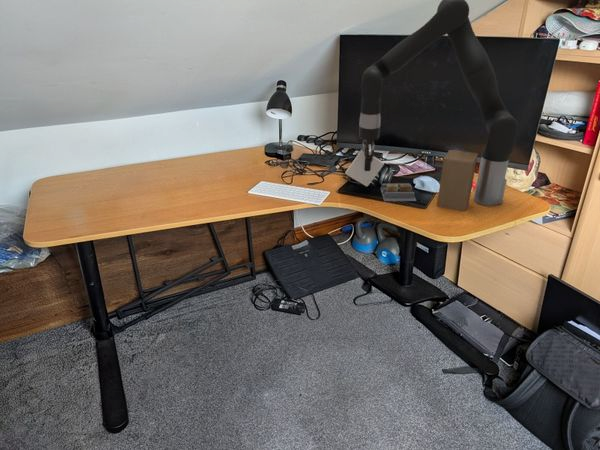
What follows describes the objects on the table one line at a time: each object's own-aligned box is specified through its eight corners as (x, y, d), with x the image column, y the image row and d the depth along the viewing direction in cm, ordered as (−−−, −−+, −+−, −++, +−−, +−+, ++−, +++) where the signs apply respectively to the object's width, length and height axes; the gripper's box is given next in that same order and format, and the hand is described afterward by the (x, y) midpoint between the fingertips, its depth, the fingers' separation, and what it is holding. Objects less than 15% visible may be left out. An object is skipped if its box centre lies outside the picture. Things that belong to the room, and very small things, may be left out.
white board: (366, 184, 178) (383, 162, 173) (367, 186, 176) (384, 164, 171) (345, 172, 176) (361, 149, 171) (345, 174, 174) (362, 150, 169)
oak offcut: (396, 194, 175) (397, 184, 173) (397, 196, 173) (398, 186, 171) (386, 194, 175) (386, 184, 173) (386, 196, 173) (387, 186, 172)
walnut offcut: (409, 194, 175) (410, 184, 173) (410, 196, 173) (411, 186, 171) (399, 194, 175) (400, 184, 173) (400, 196, 173) (400, 186, 171)
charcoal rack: (410, 191, 181) (411, 183, 179) (416, 204, 170) (417, 195, 169) (379, 191, 181) (380, 183, 180) (383, 204, 171) (384, 196, 169)
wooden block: (468, 203, 170) (478, 152, 161) (464, 215, 162) (474, 162, 153) (441, 199, 174) (449, 149, 164) (436, 209, 166) (443, 157, 157)
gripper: (382, 130, 159) (379, 176, 168) (377, 119, 171) (374, 163, 180) (361, 130, 160) (358, 176, 168) (357, 119, 172) (355, 163, 180)
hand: (366, 169), depth 174 cm, fingers closed on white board, 2 cm apart
